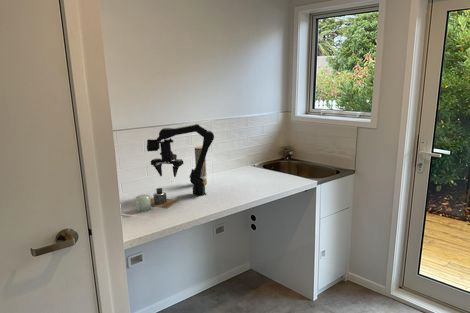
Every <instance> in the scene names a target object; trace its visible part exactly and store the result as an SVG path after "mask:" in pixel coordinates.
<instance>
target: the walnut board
mask: <svg viewBox="0 0 470 313" xmlns="http://www.w3.org/2000/svg"><path fill="white" fill-rule="evenodd" d="M166 199H167V203H165V204H160V205H157V204H154V197H152V198H150V202H151V208H161V209H169V208H171V207H172V206H174V205H176V204H178V203H179V202H181V201H182V200H181V199H173V198H166Z"/></svg>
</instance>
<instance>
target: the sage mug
mask: <svg viewBox="0 0 470 313" xmlns="http://www.w3.org/2000/svg"><path fill="white" fill-rule="evenodd" d="M135 199H136V201H135V202H136V211H138V212H139V213H143V212H144V213H145V212H149V211H151V210H152V207H151V202H150V199H151V195H150V194H146V193H145V194H139V195H137V196H136V197H135Z"/></svg>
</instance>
